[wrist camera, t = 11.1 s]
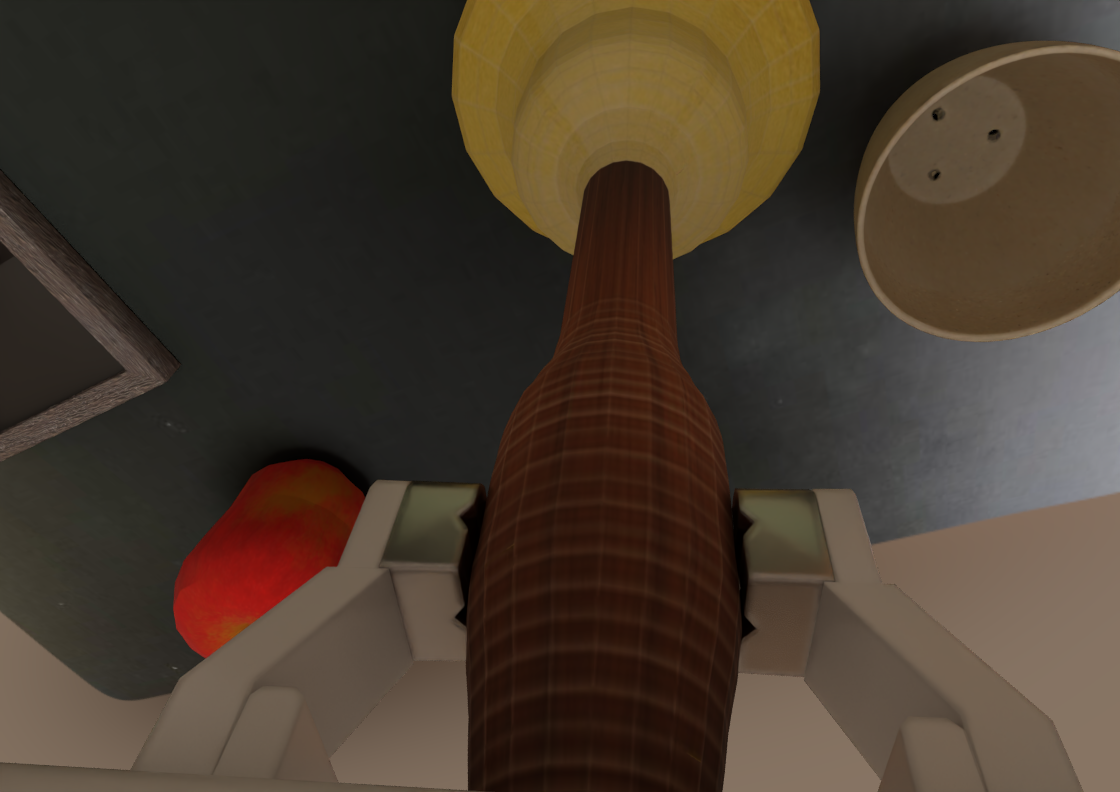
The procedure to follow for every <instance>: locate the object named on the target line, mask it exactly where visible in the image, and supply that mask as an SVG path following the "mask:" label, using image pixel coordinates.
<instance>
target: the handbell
mask: <svg viewBox="0 0 1120 792" xmlns="http://www.w3.org/2000/svg"><path fill="white" fill-rule="evenodd" d="M819 93H820V39H819V27H818V24H817V21H816V19H815V16H814V13H813V10H812V7H811V4H810V1H809V0H467V2H466V5H465V8H464V10H463V13H462V16H461V19H460V21H459V24H458V27H457V30H456V32H455V35H454V53H453V77H452V98H453V102H454V106H455V110H456V114H457V117H458V121H459V125H460V129H461V133H462V136H463V140H464V144H465V148H466V151H467V152H468V154H469V156H470V157H471V159H472V161H473V162H474V164H475V165H476V167H477V169H478V170H479V172H480V174H481V175H482V177H483V178H484V180H485V182H486V183H487V185H488V187H489V188H490V190H491V191H492V193H493V195H494V196H495V197H496V198H497V199H498V200H499V201H500V202H502V203H503V204H504V205H505V206H506V207H507V208H508V209H509V210H511V211H512V212H513V213H514V214H515V215H516V216H517V217H518V218H519V219H521V220H522V221H523V222H524V223H525V224H526V225H527V226H528V227H530V228H531V229H532V230H533V231H535V232H537V233H539V234H541V235H544V236H546V237H548V238H550V239H551V240H552V241H553V242H554V243H556V244H557V245H558V246H559V247H560V248H561V249H562V250H564V251H566V252H568V253H570V254H572V255H573V261H572V267H571V273H570V279H569V285H568V292H567V298H566V304H565V310H564V316H563V322H562V328H561V334H560V337H559V340H558V343H557V346H556V350H555V353H554V357H553V359H552V360H551V361H550V362H549V363H548V364H547V365H546V366H545V367H544V368H543V369H542V371H541V372H540V373H539V375H538V376H537V378H536V379H535V380H534V382H533V383H532V384H531V385H530V386H529V387H528V388H527V389H526V390H525V391H524V393H523V394H522V396H521V398H520V400H519V402H518V403H517V405H516V407H515V409H514V411H513V412H512V414H511V416H510V419H509V421H508V423H507V425H506V427H505V430H504V432H503V436H502V439H501V442H500V446H499V450H498V455H497V459H496V462H495V466H494V470H493V474H492V478H491V482H490V487H489V491H488V496H487V502H486V507H485V513H484V518H483V523H482V528H481V533H480V538H479V543H478V547H477V550H476V554H475V558H474V562H473V566H472V572H471V579H470V586H469V594H468V606H467V641H466V676H467V692H468V714H469V723H468V791H484V792H722V790H723V781H724V774H725V764H726V753H727V742H728V732H729V726H730V719H731V713H732V707H733V702H734V696H735V690H736V685H737V678H738V667H739V655H740V646H741V637H742V613H741V599H740V588H739V578H738V571H737V564H736V557H735V543H734V529H733V518H732V508H731V499H730V490H729V482H728V475H727V468H726V461H725V453H724V447H723V441H722V436H721V433H720V430H719V427H718V424H717V421H716V419H715V417H714V415H713V413H712V411H711V410H710V408H709V406H708V404H707V402H706V400H705V399H704V397H703V395H702V394H701V392H700V391H699V390H698V389H697V388H696V386H695V385H694V383H693V381H692V379H691V378H690V376H689V374H688V373H687V371H686V370H685V369H684V367H683V366H682V363H681V360H680V355H679V349H678V345H677V328H676V309H675V290H674V271H673V259H675V258H677V257H679V256H682V255H684V254H686V253H688V252H691V251H692V250H693V249H695V248H696V247H697V246H698V245H699V244H702V243H704V242H706V241H708V240H711V239H713V238H715V237H717V236H720V235H722V234H724V233H727V232H729V231H730V230H731V229H732V228H733V227H735V226H736V225H737V224H738V223H739V222H741V221H742V220H743V219H744V218H745V217H747V216H748V215H749V214H750V213H751V212H753V211H754V210H755V209H756V208H757V207H759V206H760V205H761V204H762V203H763V202H764V201H766V200H767V199H768V198H769V197H770V196H771V195H772V194H773V192H774V191H775V189H776V188H777V186H778V185H779V183H780V182H781V180H782V179H783V177H784V176H785V174H786V173H787V171H788V170H789V168H790V167H791V165H792V164H793V162H794V161H795V159H796V158H797V156H798V155H799V153H800V152H801V150H802V149H803V145H804V142H805V139H806V136H807V132H808V129H809V126H810V123H811V119H812V116H813V113H814V109H815V106H816V103H817V100H818V96H819Z"/></svg>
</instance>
